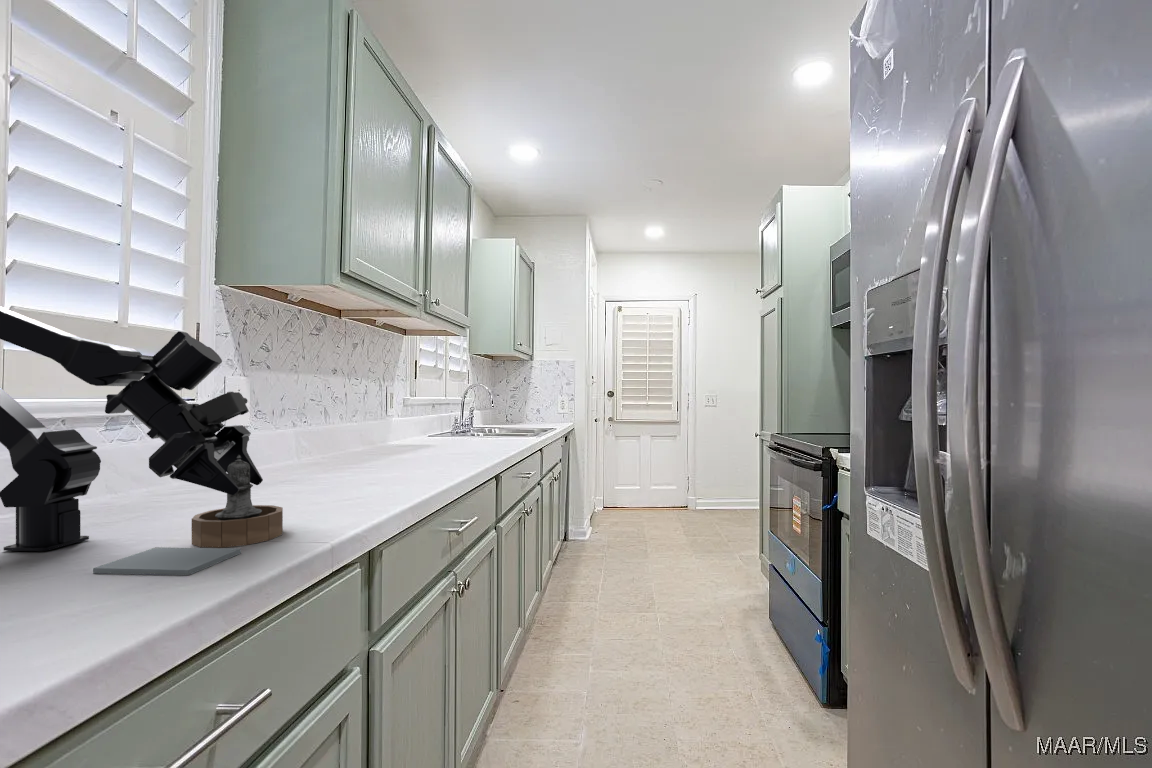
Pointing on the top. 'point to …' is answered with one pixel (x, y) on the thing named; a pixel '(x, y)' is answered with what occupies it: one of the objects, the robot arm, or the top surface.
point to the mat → (168, 561)
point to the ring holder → (236, 528)
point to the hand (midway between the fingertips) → (249, 487)
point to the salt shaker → (239, 494)
